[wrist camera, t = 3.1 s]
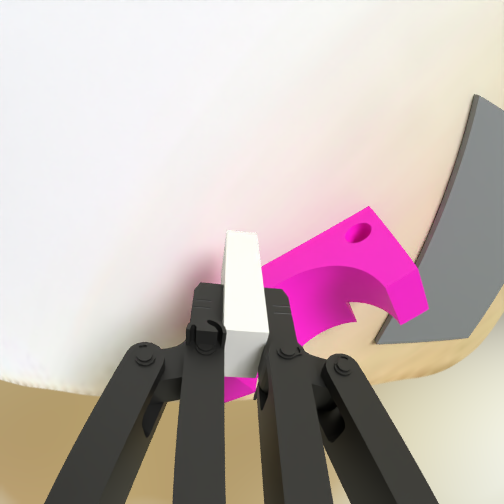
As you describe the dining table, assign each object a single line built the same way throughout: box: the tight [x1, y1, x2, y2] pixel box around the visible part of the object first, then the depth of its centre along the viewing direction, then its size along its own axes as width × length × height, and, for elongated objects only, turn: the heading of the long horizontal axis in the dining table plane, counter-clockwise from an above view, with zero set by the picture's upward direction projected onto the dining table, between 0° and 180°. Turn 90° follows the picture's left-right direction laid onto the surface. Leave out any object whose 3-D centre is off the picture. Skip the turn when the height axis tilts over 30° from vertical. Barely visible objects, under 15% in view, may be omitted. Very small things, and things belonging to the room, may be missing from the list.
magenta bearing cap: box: [224, 206, 429, 403], centre depth 21 cm, size 15×6×8 cm, turn 123°
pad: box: [375, 94, 504, 344], centre depth 23 cm, size 14×24×1 cm, turn 171°
